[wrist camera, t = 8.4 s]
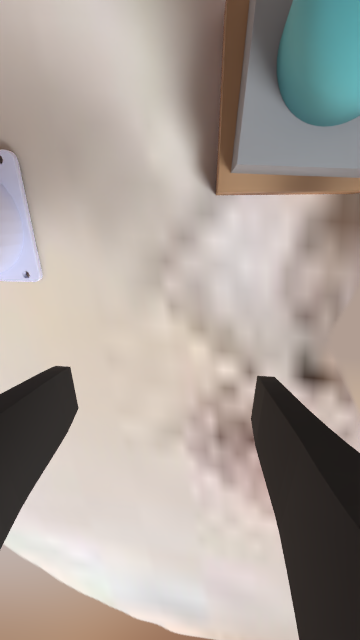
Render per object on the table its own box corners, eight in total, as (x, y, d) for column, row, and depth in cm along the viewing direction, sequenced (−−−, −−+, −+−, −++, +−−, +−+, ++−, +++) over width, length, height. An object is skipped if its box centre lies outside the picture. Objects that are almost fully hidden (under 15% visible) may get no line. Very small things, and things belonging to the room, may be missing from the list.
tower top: (230, 173, 13) (236, 164, 11) (250, -5, 10) (263, -66, 8) (358, 177, 13) (392, 169, 10) (411, -5, 10) (472, -69, 8)
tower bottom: (215, 195, 16) (218, 192, 13) (223, 21, 13) (228, -22, 10) (346, 194, 15) (372, 190, 13) (388, 11, 12) (433, -38, 10)
